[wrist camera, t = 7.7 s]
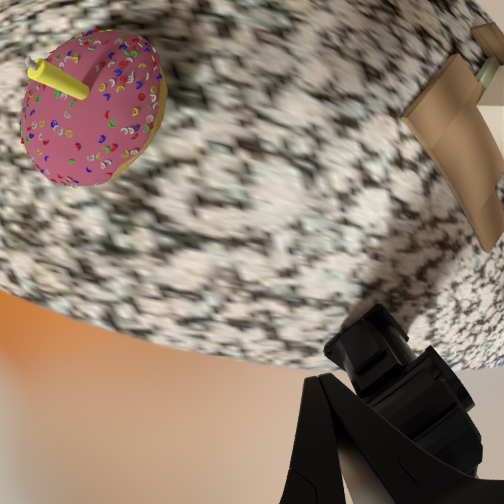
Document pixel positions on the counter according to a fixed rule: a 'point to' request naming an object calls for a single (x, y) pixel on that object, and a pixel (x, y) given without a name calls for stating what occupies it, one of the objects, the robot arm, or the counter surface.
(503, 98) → the block
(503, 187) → the counter surface
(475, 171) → the lane board
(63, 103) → the cupcake
